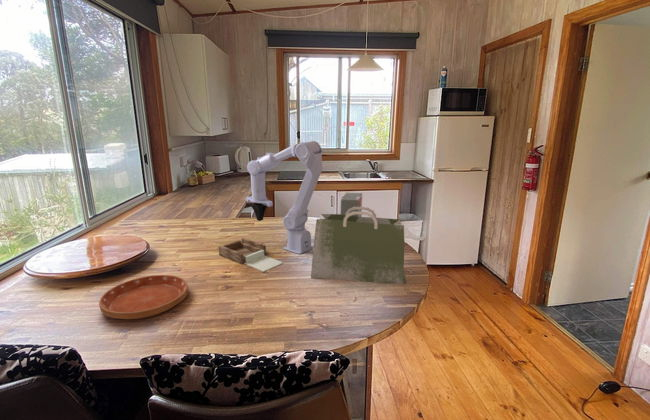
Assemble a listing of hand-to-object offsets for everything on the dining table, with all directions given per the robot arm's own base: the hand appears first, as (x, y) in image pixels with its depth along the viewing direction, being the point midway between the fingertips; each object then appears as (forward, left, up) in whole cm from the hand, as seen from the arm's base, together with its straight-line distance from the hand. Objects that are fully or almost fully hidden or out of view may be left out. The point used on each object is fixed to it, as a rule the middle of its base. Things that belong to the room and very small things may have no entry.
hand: (260, 220), depth 145 cm
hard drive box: (-29, -26, -10) cm, 40 cm away
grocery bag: (-50, -1, -10) cm, 51 cm away
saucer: (-12, +54, -10) cm, 56 cm away
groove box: (-5, +14, -10) cm, 18 cm away
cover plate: (-18, +14, -11) cm, 25 cm away
